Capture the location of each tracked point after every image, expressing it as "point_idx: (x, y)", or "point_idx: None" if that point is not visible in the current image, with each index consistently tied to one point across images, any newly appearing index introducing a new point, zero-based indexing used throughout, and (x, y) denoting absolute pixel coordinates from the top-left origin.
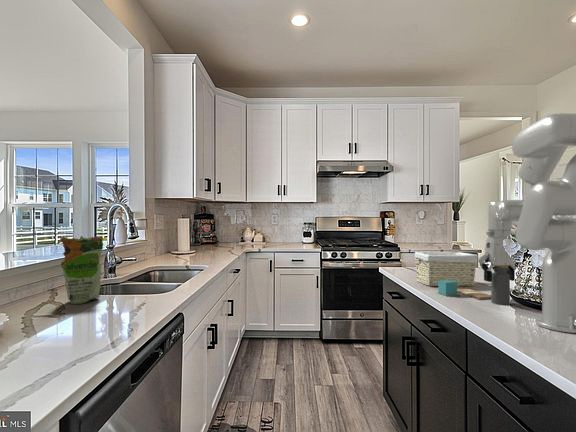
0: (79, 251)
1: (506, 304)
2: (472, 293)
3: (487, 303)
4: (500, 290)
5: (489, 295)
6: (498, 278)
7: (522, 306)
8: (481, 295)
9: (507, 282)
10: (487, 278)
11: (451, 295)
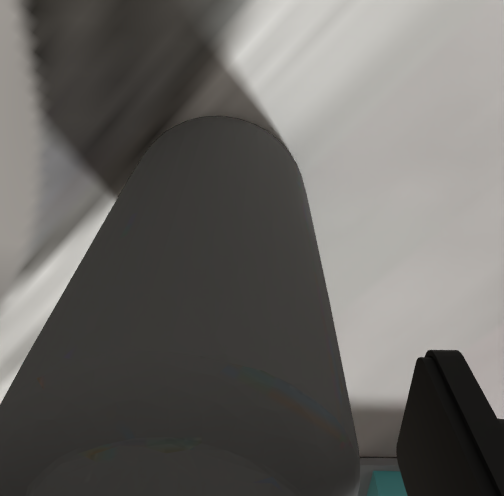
0: None
1: (220, 117)
2: None
3: (364, 214)
4: (289, 210)
5: None
6: (328, 360)
7: (82, 8)
8: None
9: (163, 250)
10: (501, 422)
11: None
